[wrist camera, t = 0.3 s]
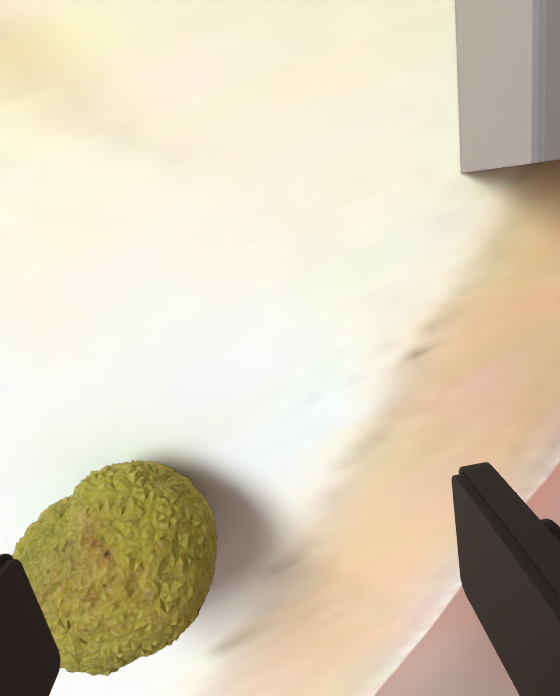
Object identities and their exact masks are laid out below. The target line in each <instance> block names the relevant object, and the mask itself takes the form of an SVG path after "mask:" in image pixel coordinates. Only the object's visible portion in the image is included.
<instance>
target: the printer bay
mask: <svg viewBox="0 0 560 696" xmlns="http://www.w3.org/2000/svg"><path fill="white" fill-rule="evenodd" d="M455 13H456V43H457V73H458V102H459V132H460V161H461V173H465V172H472V171H479V170H487V169H494V168H502V167H509V166H517V165H524V164H531V163H538V162H545V161H551V160H558V159H560V0H455Z"/></svg>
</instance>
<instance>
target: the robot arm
mask: <svg viewBox="0 0 560 696" xmlns="http://www.w3.org/2000/svg"><path fill="white" fill-rule="evenodd" d="M452 490H453V501H454V512H455V523H456V534H457V545H458V556H459V567H460V577H461V582H462V586H463V588H464V591H465V594H466V596H467V598H468V600H469V602H470V604H471V605H472V607H473V609H474V611H475V613H476V615H477V617H478V619H479V620H480V622H481V624H482V626H483V628H484V630H485V632H486V633H487V635H488V637H489V639H490V641H491V643H492V645H493V647H494V648H495V650H496V652H497V654H498V656H499V658H500V659H501V662H502V663H503V665H504V667H505V669H506V671H507V673H508V674H509V677H510V678H511V680H512V682H513V684H514V686H515V688H516V689H517V691H518V693H519V695H520V696H560V527H559V526H558V525H557V524H556V523H554V522H553V521H552V520H549V519H542V520H540V519H539V518H538V517H537V516H536V515H535V514H534V513H533V511H532V510H531V509H530V508H529V507H528V506H527V505H526V504H525V502H524V501H523V500H522V499H521V498H520V497H519V496H518V495H517V493H516V492H515V491H514V490H513V489H512V488H511V487H510V486H509V484H508V483H507V482H506V481H505V480H504V479H503V478H502V477H501V476H500V474H499V473H498V472H497V471H496V470H495V469H494V468H493V467H492V465H491V464H489V463H488V462H484V463H479V464H473V465H468V466H463V467H460V469H459V475H454V476H452ZM60 660H61V659H60V653H59V650H58V647H57V645H56V643H55V640H54V638H53V636H52V633H51V631H50V629H49V626H48V624H47V622H46V619H45V617H44V615H43V612H42V610H41V607H40V605H39V603H38V600H37V598H36V596H35V593H34V591H33V589H32V586H31V584H30V582H29V579H28V577H27V575H26V572H25V570H24V568H23V565H22V563H21V562H20V561H19V560H18V559H14V558H13V557H12V556H11V555H10V554H1V555H0V696H49V694H50V692H51V689H52V687H53V685H54V682H55V680H56V678H57V675H58V672H59V669H60Z"/></svg>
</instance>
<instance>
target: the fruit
mask: <svg viewBox="0 0 560 696" xmlns="http://www.w3.org/2000/svg"><path fill="white" fill-rule="evenodd" d="M216 540H217V535H216V528H215V520H213V511H212V510H211V508H210V506H209V504H208V503H207V501H206V500H205V496H204V495H202V494H201V493H200V492H199V491H198V490H197V488H195V487H194V486H193V485H192V480H190V479H189V478H187V477H186V476H181V475H180V474H179V473H177V472H175V470H174V468H173V469H171V468H169V467H167V466H166V465H161V464H159V463H158V462H151V461H135V462H134V461H132V462H131V463H128V462H123V463H118V464H113V465H112V466H105V467H104V468H102V469H101V470H100V471H91V473H90V475H89V476H87V477H86V478H85V479H84V480H82V481H81V483H80V484H79V485H77V486H76V487H75V490H74V494H73V495H72V496H70V497H66V498H64V499H62V500H60V501H58V502H56V503H55V504H52V505H50V506H49V507H48V508H47V509H46V510H44V512H42V513H41V515H40V516H39V518H38V520H37V521H36V522H34V523H32V524H31V525H30V526H29V527H28V528H27V530H26V532H25V534H24V537H22V538H20V540H19V542H17V543H16V547H15V552H14V554H13V555H12V557H13V558H14V559H18V560H19V561H20V562H21V563H22V565H23V568H24V570H25V572H26V575H27V577H28V579H29V582H30V584H31V586H32V589H33V591H34V593H35V596H36V598H37V600H38V603H39V605H40V607H41V610H42V612H43V615H44V617H45V619H46V622H47V624H48V626H49V629H50V631H51V633H52V636H53V638H54V640H55V643H56V645H57V647H58V650H59V653H60V659H61V660H60V668H65V669H66V670H67V671H68V672H72V673H73V672H86V673H89V674H91V675H93V676H94V675H98V674H101V675H106V676H108V675H109V674H110V673H111V672H116V671H118V669H119V668H120V667H124V666H125V665H127V664H129V663H131V662H133V661H135V660H136V659H137V658H139V657H141V656H147V657H148V656H149V655H152V654H154V653H156V652H157V651H159V650H161V649H163V648H164V647H165V646H166V645H170V646H171V644H172V642H173V641H174V640H177V639H178V637H179V636H180V634H181V633H182V632H184V631H185V630H186V628H188V627H189V626H190V624H191V623H192V622H193V621H194V620H195V618H196V617H197V616H198V614H199V610H200V609H201V607H202V605H203V603H204V602H205V598H206V595H207V594H208V592H209V586H210V585H211V584H212V579H213V575H214V570H215V566H214V564H215V561H216V551H217V543H216Z"/></svg>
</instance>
